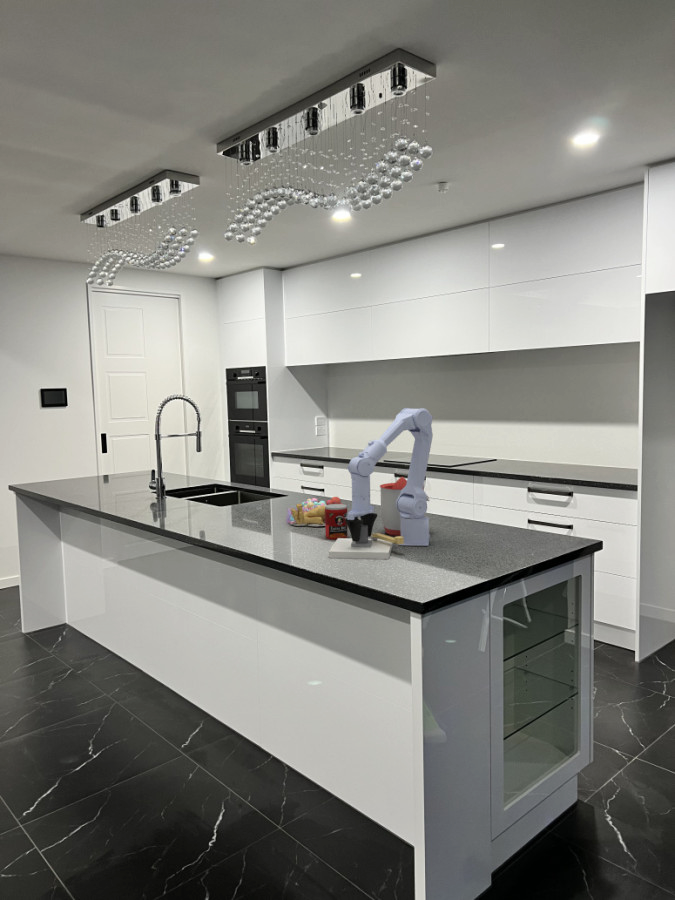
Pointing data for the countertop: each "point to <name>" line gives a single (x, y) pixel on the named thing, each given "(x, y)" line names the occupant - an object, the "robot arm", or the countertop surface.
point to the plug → (363, 538)
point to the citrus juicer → (392, 506)
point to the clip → (387, 538)
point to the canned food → (336, 521)
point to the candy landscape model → (310, 512)
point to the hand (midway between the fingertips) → (361, 538)
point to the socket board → (360, 549)
